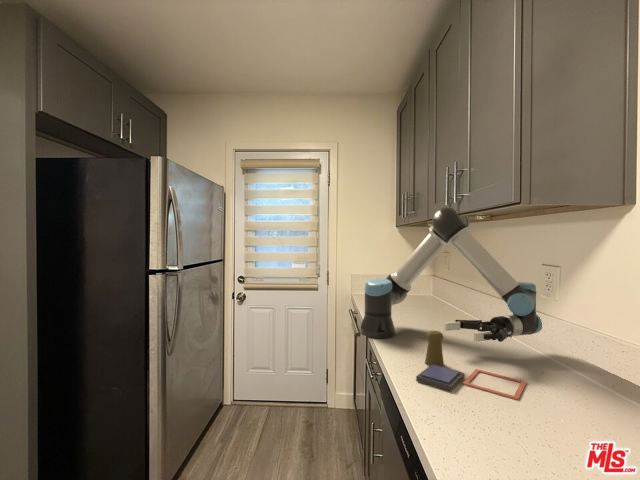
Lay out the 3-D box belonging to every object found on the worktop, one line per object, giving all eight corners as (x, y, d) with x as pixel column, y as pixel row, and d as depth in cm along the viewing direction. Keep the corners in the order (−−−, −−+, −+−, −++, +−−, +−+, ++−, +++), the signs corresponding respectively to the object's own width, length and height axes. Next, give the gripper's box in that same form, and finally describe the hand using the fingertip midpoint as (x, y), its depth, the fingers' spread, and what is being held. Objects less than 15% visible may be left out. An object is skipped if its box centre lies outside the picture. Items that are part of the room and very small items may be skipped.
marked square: (475, 370, 107) (475, 368, 107) (526, 382, 98) (526, 381, 98) (462, 384, 96) (462, 383, 96) (518, 400, 87) (518, 398, 87)
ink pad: (431, 369, 107) (431, 362, 107) (464, 378, 100) (464, 371, 100) (416, 381, 97) (416, 374, 97) (450, 391, 91) (451, 384, 91)
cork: (445, 368, 108) (446, 334, 107) (425, 366, 109) (426, 333, 109) (442, 361, 113) (443, 329, 113) (423, 359, 115) (424, 328, 115)
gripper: (537, 347, 110) (489, 354, 102) (478, 328, 133) (434, 333, 126) (537, 324, 110) (489, 330, 102) (478, 309, 133) (435, 313, 126)
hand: (459, 331), depth 114 cm, fingers open, 13 cm apart
